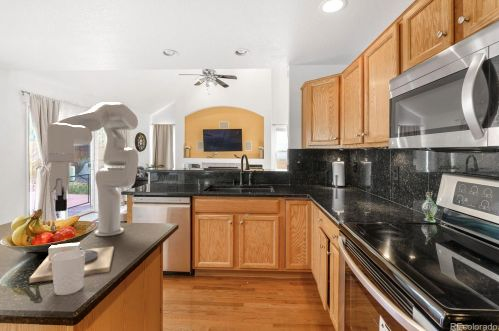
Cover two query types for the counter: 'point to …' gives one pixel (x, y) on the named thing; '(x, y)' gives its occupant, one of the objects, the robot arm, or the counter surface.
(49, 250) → the dial
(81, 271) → the white cup
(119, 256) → the counter surface
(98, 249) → the dial panel
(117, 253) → the counter surface
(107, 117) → the robot arm
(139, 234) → the counter surface
